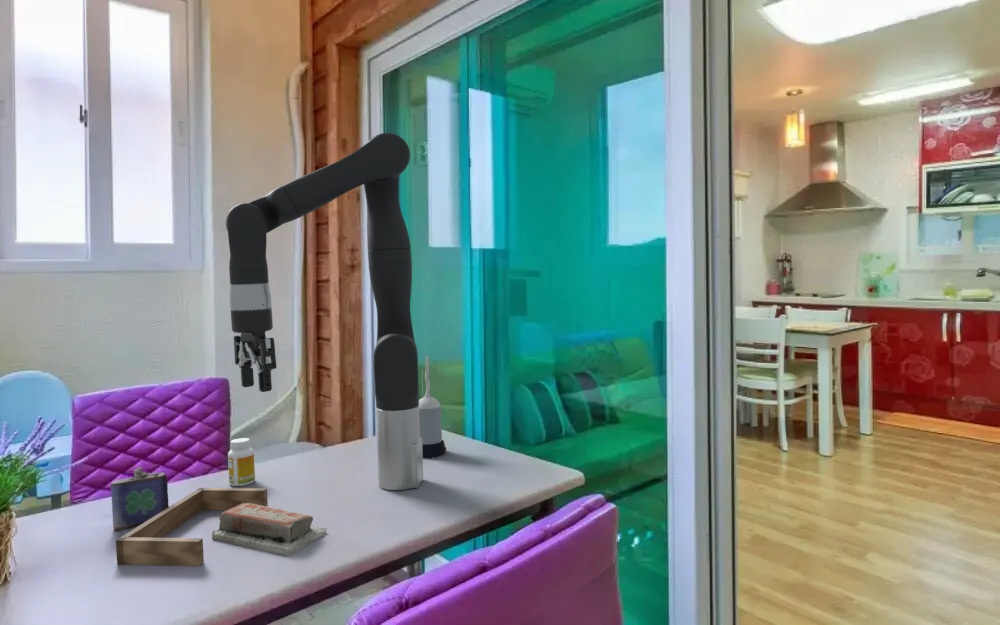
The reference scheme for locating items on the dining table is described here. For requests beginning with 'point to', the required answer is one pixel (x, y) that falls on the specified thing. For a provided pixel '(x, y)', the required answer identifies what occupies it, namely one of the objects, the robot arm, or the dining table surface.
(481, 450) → the dining table surface
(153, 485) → the flask
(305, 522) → the packaged product
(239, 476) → the supplement bottle
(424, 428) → the humidifier
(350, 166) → the robot arm
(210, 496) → the frame
